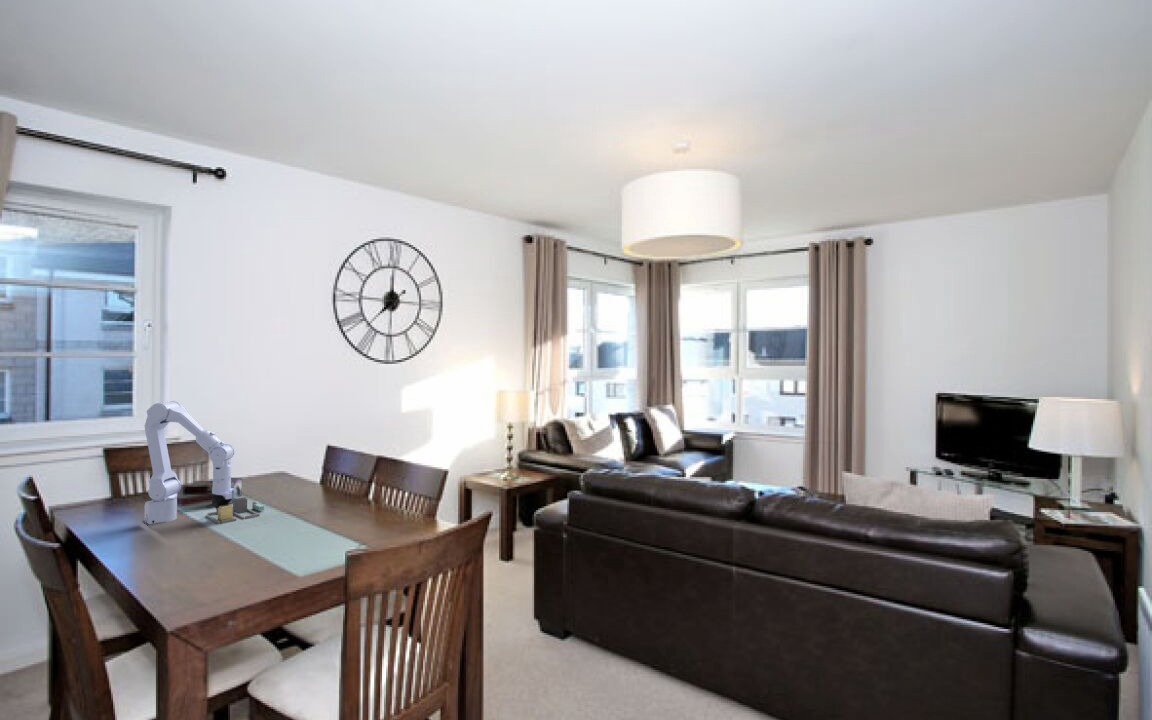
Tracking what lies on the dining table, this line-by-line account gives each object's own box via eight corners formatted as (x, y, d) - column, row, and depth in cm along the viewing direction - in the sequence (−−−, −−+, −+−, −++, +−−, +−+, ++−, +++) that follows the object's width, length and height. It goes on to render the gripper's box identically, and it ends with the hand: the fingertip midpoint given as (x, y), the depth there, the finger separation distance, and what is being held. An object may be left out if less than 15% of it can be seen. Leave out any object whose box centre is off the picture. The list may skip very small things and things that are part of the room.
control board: (209, 530, 205) (209, 523, 205) (194, 521, 216) (194, 515, 216) (274, 517, 222) (275, 511, 222) (257, 509, 232) (257, 503, 232)
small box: (227, 509, 232) (227, 482, 232) (211, 508, 232) (211, 482, 232) (242, 502, 243) (243, 477, 243) (227, 502, 243) (227, 477, 243)
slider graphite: (235, 513, 221) (235, 499, 221) (232, 512, 223) (232, 497, 223) (247, 511, 224) (247, 497, 224) (244, 510, 226) (244, 495, 226)
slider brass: (220, 522, 210) (220, 507, 210) (217, 521, 212) (217, 505, 211) (232, 520, 213) (232, 505, 213) (229, 518, 215) (229, 503, 215)
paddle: (258, 512, 223) (258, 505, 223) (251, 509, 228) (251, 502, 228) (264, 511, 225) (264, 504, 225) (257, 508, 229) (257, 501, 229)
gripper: (241, 479, 212) (241, 516, 213) (226, 473, 222) (226, 509, 222) (219, 482, 207) (219, 520, 207) (205, 476, 216) (205, 513, 217)
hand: (221, 515), depth 214 cm, fingers closed
